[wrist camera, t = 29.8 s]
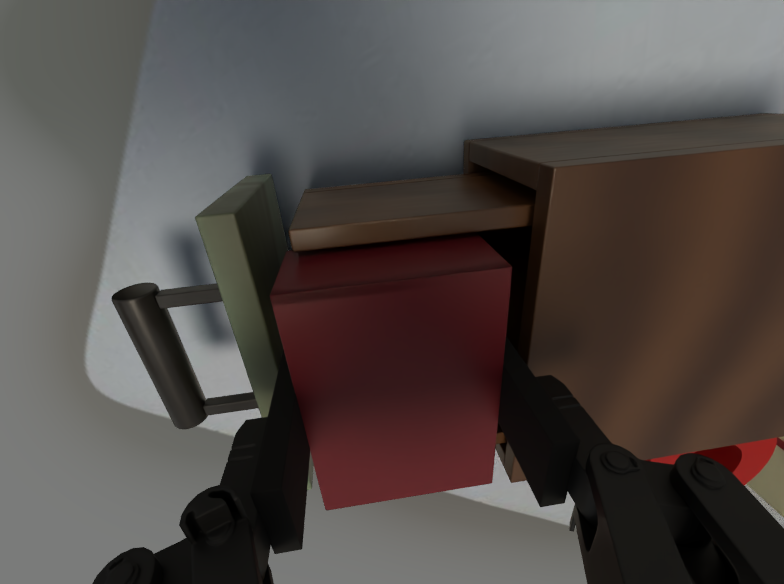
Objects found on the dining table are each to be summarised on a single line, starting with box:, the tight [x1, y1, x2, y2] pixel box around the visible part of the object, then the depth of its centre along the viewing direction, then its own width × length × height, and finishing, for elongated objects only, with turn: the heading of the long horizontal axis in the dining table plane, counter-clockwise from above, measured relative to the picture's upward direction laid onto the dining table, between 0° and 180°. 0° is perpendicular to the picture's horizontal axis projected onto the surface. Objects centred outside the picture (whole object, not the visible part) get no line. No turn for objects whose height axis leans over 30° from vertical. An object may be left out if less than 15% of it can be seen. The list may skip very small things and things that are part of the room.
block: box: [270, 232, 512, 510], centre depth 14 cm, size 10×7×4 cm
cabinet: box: [463, 113, 784, 483], centre depth 19 cm, size 17×15×9 cm
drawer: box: [112, 171, 537, 490], centre depth 18 cm, size 21×14×7 cm, turn 93°
